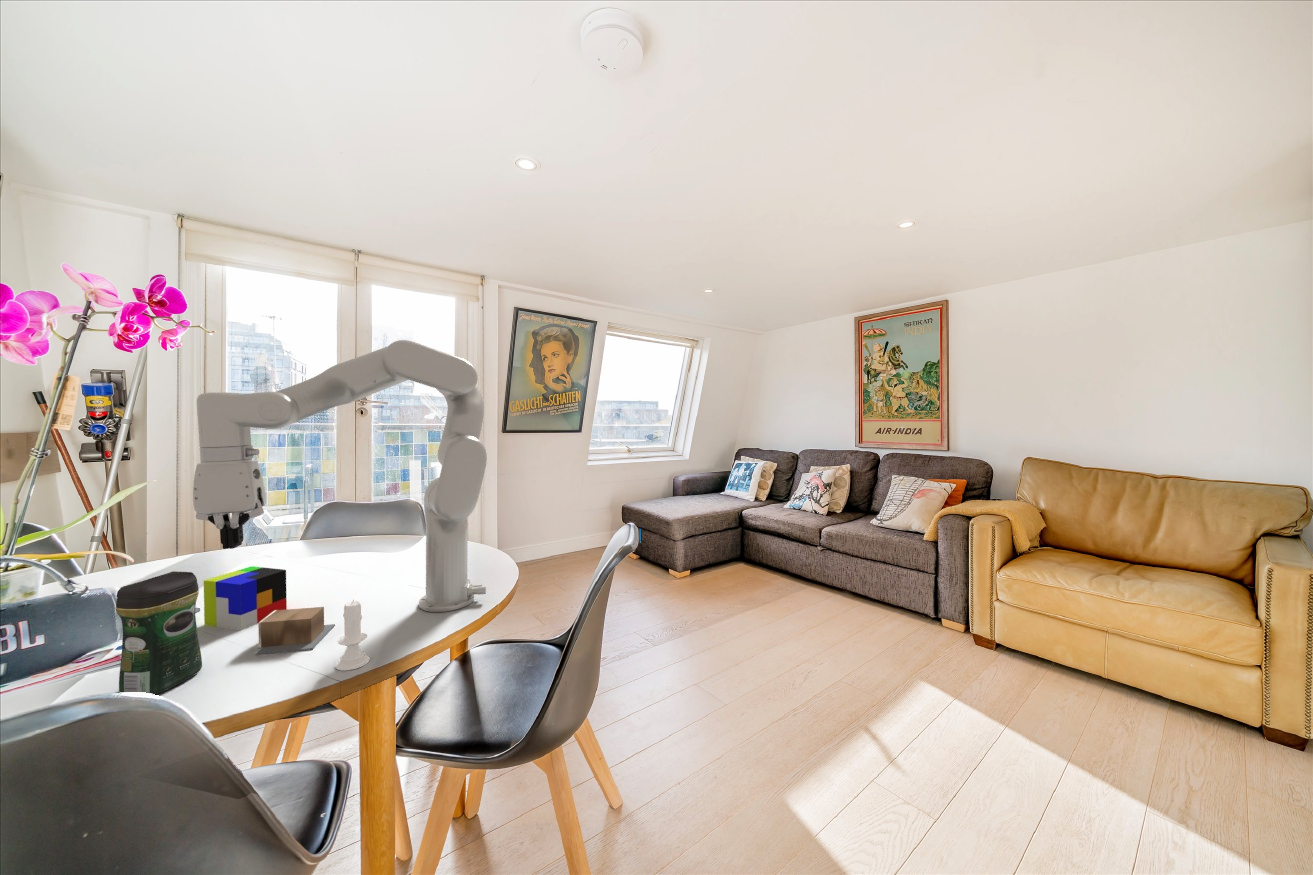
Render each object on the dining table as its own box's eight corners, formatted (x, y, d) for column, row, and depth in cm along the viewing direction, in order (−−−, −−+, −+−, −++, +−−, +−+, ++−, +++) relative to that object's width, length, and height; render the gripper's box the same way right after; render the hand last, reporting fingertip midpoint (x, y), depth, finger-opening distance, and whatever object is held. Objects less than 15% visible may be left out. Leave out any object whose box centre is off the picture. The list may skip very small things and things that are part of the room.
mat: (335, 625, 103) (335, 624, 103) (312, 649, 93) (312, 648, 93) (284, 629, 101) (284, 628, 101) (255, 654, 90) (255, 653, 90)
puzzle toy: (241, 630, 100) (240, 584, 100) (204, 625, 102) (203, 580, 102) (286, 611, 110) (286, 569, 110) (252, 607, 112) (251, 566, 112)
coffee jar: (170, 667, 85) (168, 566, 85) (211, 669, 85) (209, 568, 84) (105, 698, 76) (101, 585, 75) (151, 701, 75) (148, 587, 74)
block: (274, 633, 98) (324, 629, 100) (258, 647, 92) (311, 642, 95) (274, 610, 98) (323, 606, 100) (258, 622, 92) (311, 618, 94)
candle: (346, 656, 90) (346, 595, 90) (375, 656, 91) (374, 595, 90) (328, 671, 85) (328, 606, 84) (359, 671, 85) (358, 606, 85)
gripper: (281, 452, 98) (286, 539, 99) (193, 454, 94) (199, 544, 95) (260, 455, 90) (266, 549, 91) (165, 458, 87) (172, 555, 88)
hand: (232, 546), depth 93 cm, fingers closed
